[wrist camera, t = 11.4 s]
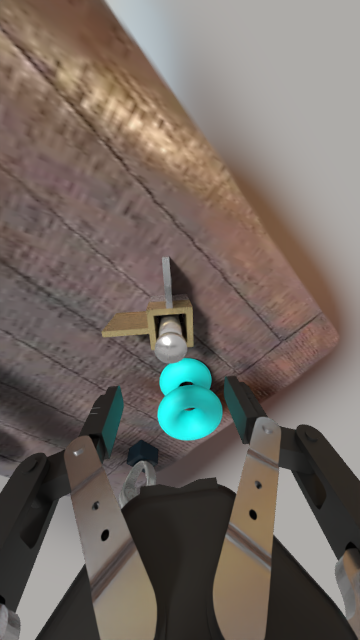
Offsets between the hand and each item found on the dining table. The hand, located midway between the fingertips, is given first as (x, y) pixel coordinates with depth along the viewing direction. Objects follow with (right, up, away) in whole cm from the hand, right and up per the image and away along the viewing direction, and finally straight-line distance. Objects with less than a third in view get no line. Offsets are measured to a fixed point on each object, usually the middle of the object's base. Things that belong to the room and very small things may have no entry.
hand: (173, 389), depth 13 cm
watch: (-8, -26, +29) cm, 40 cm away
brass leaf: (-4, +6, +16) cm, 18 cm away
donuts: (+1, -6, +21) cm, 22 cm away
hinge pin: (-1, +7, +16) cm, 17 cm away
